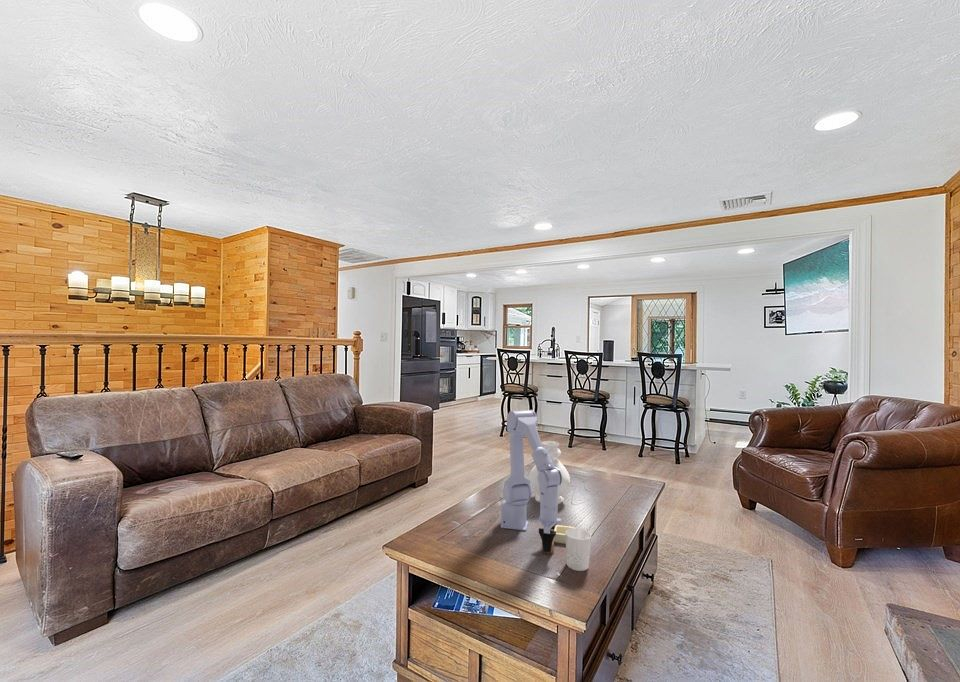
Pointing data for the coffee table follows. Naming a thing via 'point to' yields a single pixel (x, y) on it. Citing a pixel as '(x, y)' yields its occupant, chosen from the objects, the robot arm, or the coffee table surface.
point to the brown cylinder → (551, 547)
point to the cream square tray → (561, 533)
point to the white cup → (578, 549)
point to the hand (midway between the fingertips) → (547, 545)
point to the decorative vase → (554, 454)
